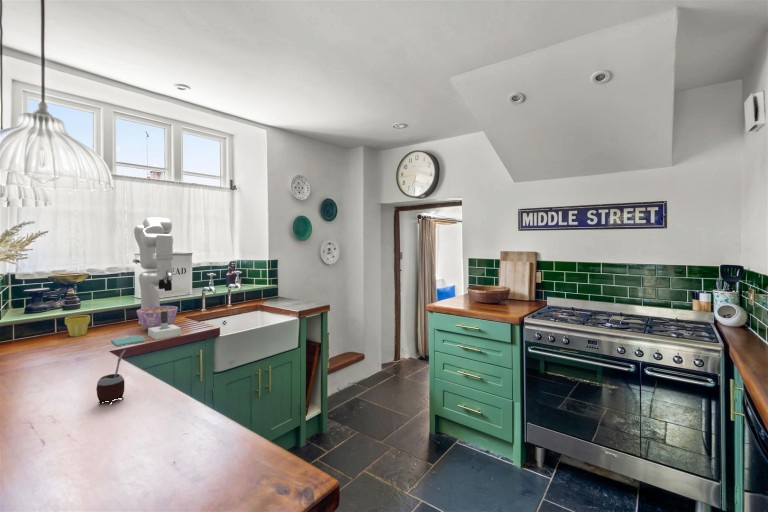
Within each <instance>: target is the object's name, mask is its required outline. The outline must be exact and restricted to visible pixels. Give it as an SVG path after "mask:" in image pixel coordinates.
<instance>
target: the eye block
mask: <svg viewBox="0 0 768 512" xmlns="http://www.w3.org/2000/svg"><path fill="white" fill-rule="evenodd" d="M147 336H149V337H150V338H152V339H153V340H155V341H156V340H162V339H167V338H174V337H178V336H182V328H181V327H180V326H178V325H175V324H174V323H173V324H172V325H168V329H162V330H161V326H159V327H152V328H148V329H147Z"/></svg>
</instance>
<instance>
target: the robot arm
mask: <svg viewBox="0 0 768 512" xmlns="http://www.w3.org/2000/svg"><path fill="white" fill-rule="evenodd" d="M172 229H173V223H172V221H171V220H170V218H167V217H147V218H144V220H143V222H142V224H139V225H137V226H135V227H134V229H133V235H134V239H135V241H136V243H137V245H138V249H139V260H140V267H141V268H142V269H143V270H146V271H143V272H140V274H139V275H138V283H139V288H140V309H142V308H147V307H155V306H161V305H160V304H161V303H160V292H159V291H158V290H157V288H155V287H158V289H159V290H164V291H165V292H171V291H172V288H173V286H172V285H173V266H172V264H173V263H172V261H173V258H174V255H173V250H174V249H173V244H174V238H173V235H172V234H171V232H172ZM147 270H150V271H147ZM138 325H141V324H140V321H139V320H138Z"/></svg>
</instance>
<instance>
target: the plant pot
mask: <svg viewBox="0 0 768 512" xmlns="http://www.w3.org/2000/svg"><path fill="white" fill-rule="evenodd" d="M90 323H91V315H89V314H83V315H82V314H79V315H78V314H77V315H72V316H66V317H65V318H64V325H66V327H67V331H68V334H69V337H82V336H86V334H87V330H88V326H89V324H90ZM81 335H82V336H81Z"/></svg>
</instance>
